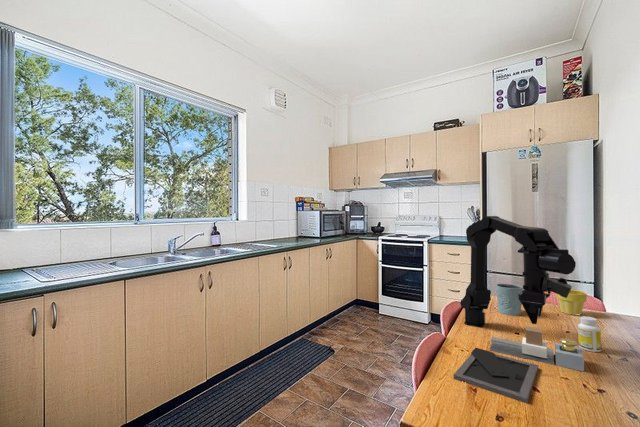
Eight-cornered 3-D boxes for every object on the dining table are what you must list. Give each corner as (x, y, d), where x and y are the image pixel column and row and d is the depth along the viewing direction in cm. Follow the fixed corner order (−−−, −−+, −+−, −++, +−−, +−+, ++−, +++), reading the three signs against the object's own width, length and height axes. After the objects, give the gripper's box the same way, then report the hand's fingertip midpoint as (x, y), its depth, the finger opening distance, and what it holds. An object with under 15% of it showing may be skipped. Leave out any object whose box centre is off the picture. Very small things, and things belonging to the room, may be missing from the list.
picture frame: (475, 353, 94) (453, 380, 78) (475, 347, 94) (453, 373, 78) (538, 370, 83) (527, 405, 67) (538, 363, 83) (526, 396, 67)
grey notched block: (556, 365, 85) (555, 351, 85) (555, 355, 91) (554, 342, 91) (584, 371, 81) (583, 357, 81) (581, 360, 87) (580, 347, 88)
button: (560, 354, 86) (560, 341, 86) (560, 349, 89) (560, 337, 89) (577, 357, 84) (576, 344, 84) (576, 353, 86) (575, 340, 87)
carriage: (522, 353, 90) (521, 330, 90) (523, 346, 95) (522, 324, 95) (546, 359, 87) (546, 334, 87) (546, 351, 92) (546, 328, 92)
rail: (490, 350, 95) (489, 342, 95) (493, 342, 101) (493, 334, 101) (553, 364, 85) (553, 355, 85) (553, 354, 91) (552, 346, 91)
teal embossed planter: (495, 313, 132) (495, 286, 132) (497, 307, 140) (496, 282, 140) (523, 317, 126) (522, 289, 126) (523, 311, 134) (522, 285, 134)
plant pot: (592, 318, 124) (592, 294, 125) (563, 316, 127) (562, 293, 127) (578, 311, 134) (578, 289, 134) (552, 309, 137) (551, 288, 137)
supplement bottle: (595, 346, 97) (594, 316, 97) (605, 353, 92) (604, 321, 92) (575, 344, 99) (574, 314, 99) (583, 351, 94) (582, 320, 94)
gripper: (567, 276, 79) (568, 335, 78) (570, 267, 93) (572, 318, 92) (517, 271, 86) (518, 325, 86) (527, 264, 100) (528, 311, 100)
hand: (536, 320), depth 91 cm, fingers open, 9 cm apart
